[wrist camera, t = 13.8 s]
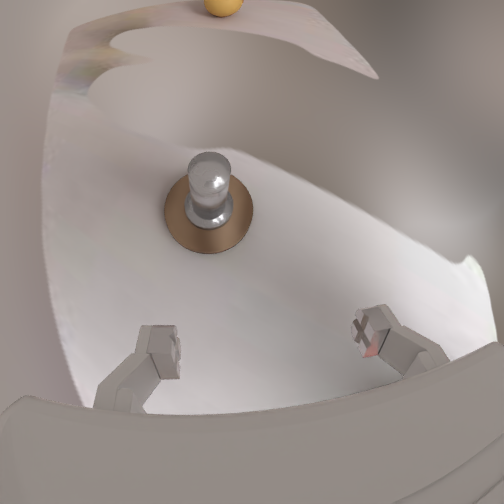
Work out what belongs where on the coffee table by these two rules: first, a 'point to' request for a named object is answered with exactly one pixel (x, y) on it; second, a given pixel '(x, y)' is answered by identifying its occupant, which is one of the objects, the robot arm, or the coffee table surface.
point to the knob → (209, 191)
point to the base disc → (208, 239)
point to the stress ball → (222, 7)
